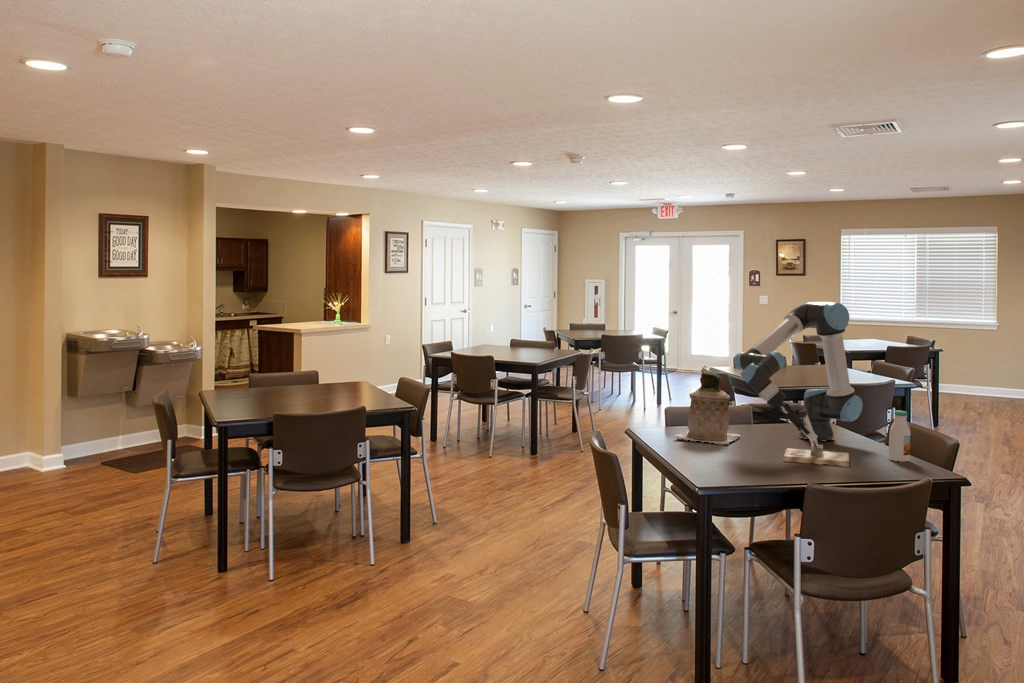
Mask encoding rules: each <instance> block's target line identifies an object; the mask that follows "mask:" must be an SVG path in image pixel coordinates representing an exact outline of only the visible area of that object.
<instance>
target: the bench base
mask: <svg viewBox="0 0 1024 683" xmlns="http://www.w3.org/2000/svg"><path fill="white" fill-rule="evenodd" d="M810 445H811V444H810ZM849 454H850V453H849V452H837V451H828V450H827V451H825V450H824V445H823V444H819V447H812V445H811V446H810V449H802V448H790V447H789V448H786V449H785V452H784V455H783V461H784V462H787V463H788V462H790V463H801V464H811V463H814V465H823V464H829V465H828V466H834V465H838V467H848V468H849V467H850V456H849Z"/></svg>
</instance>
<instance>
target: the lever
mask: <svg viewBox="0 0 1024 683" xmlns="http://www.w3.org/2000/svg"><path fill="white" fill-rule="evenodd" d="M807 413H808V412H807V409H804V408H803V409H801V410H799V411H798V413H797V414H798V416H799V417H800V418H801V419H802V421H803V423H804V425H806V426H807V427H808V428H809V429H810V430H811V431H812V432H813V433H814V431H813V428H812V426H811V423H810V420H809V417H808V415H807ZM808 441H809V442H810V445H812V447H819V445H820V444H819V443H818V442H819V441H817V439H815V440H814V441H813V442H811V440H810V439H809V440H808Z"/></svg>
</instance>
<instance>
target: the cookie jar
mask: <svg viewBox="0 0 1024 683" xmlns="http://www.w3.org/2000/svg"><path fill="white" fill-rule="evenodd" d="M700 370H701V374H700V378H699V380H700V381H699V382H700V387H699V388H697V389H696V390H695V391H693V392H690V393H689V398H690V406H689V412H688V415H687V416H688V417H687V428H688V429H687V430H686V431H685V433H686V432H687V433H688V434H682V433H678V434H674V437H675V439H676V438H678V440H682V439H683V440H682V441H688V440H690V441H689V442H696V441H701V442H700V443H704V442H709V443H708V444H711V443H716V444H725V445H730V444H731V443H730V442H732V441H734V440H727V439H728V436H727V435H731V436H741V435H740V434H737V433H729V432H728V431H729V427H730V416H729V407H730V406H729V400H730V399H731V396H730V395H729V394H728V393H726V392H725V391H724V390H722V389H720V384H721V383H723V378H722V376H721V375H719V373H718V372H716V371H714V370H704V369H700ZM734 442H735V441H734ZM729 443H730V444H729ZM732 443H733V442H732ZM716 444H715V445H716Z"/></svg>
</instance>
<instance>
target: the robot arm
mask: <svg viewBox="0 0 1024 683" xmlns="http://www.w3.org/2000/svg"><path fill="white" fill-rule="evenodd" d="M849 322H850V314H849V311H848V308H847V307H846V306H845V305H844V304H843V303H840V302H835V301H809V302H808V301H807V302H805V303H803V304H800V305H799V306H797V307H795V308H793V309H792V310H791V311H790V312H788V313H787V314H786V315H785V316H784V317H783V320H782V322H780V323H779V324H778V325H777V326H775V327H774V328H773V329H772V330H771V331H770V332H768V333H767V334H766V335H765V336H764V337H762V338H761V339H760V340H759V341H758V342H757V343H755V344H754V345H753V346H752V347H751V348H749V349H748V350H747V351H746V352H738V353H736V354H735V356H734V359H733V364H734V366H735V368H736V369H738V370H740V371H741V372H740V376H741V378H742V379H743V380H744V381H745V383H747V384H748V385H749V386H750V387H751V388H752V389H753V390H754V391H755V393H757V394H758V396H759V399H761V398H762V399H763V401H764V402H766V404H767V405H768V406H769V407H770V408H771V409H775V408H776V407H777V408H779V411H780V413H781V414H783V415H784V416H785V417H786V418H787V419H788V420H789V421H790V423H792V424H793V425H794V426H795V427H796V429H797V431H799V432H798V437H799V436H801V437H803V438H807V439H810V440H811V442H813V441H814V440H815V439H817V440H832V439H834V440H835V435H834V431H833V428H832V424H831V420H835V421H836V420H837V421H842V422H855V421H856V420H857V419H858V418H859V417H860V415H861V413H862V410H863V407H864V406H863V400H862V397H860V396H858V395H856V391H855V389H854V387H853V386H851V383H850V377H849V371H848V370H849V369H848V365H847V364H848V363H847V358H846V350H845V344H844V338H843V334H844V333H845V332H846V328H847V327H848V326H849ZM806 329H815V330H816V335H817V336H818V337H820V339H821V344H822V349H823V350H822V351H823V357H824V362H825V370H826V374H827V381H828V382H827V383H828V387H829V388H814V389H812V388H811V389H810V388H809V389H806V390H805V392H804V394H803V395H804V396H803V410H804V409H807V412H808V413H807V415H808V417H809V420H810V423H811V426H812V428H813V431H814V433H813V432H812V431H811V430H810V429H809V428H808V427H807V426H806V425H804V423H803V421H802V418H801V416H799V414H798V413H797V412H796V411H795V410H794V409H793V408H792V407H791V406H790V405H791V404H789V403H788V402H785V401H784V400H785V399H786V398H787V395H786V394H785V393H784V392H783V391H782V390H779V387H778V386H777V385H776V384H775V383H774V382H773V380H771V377H773V376H774V375H775V374H776V373H777V372H778V371H780V370H781V368H782V367H783V366H784V365H785V364H786V358H785V357H784V355H783V354H782V353H781V352H780V351H777V350H778V349H779V348H780V347H781V346H782V345H784V344H785V343H786V342H787V341H789V339H790V338H792V337H793V336H794V335H795V334H798V333H801V332H802V331H804V330H806ZM810 440H809V441H810ZM811 442H810V443H811Z"/></svg>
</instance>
